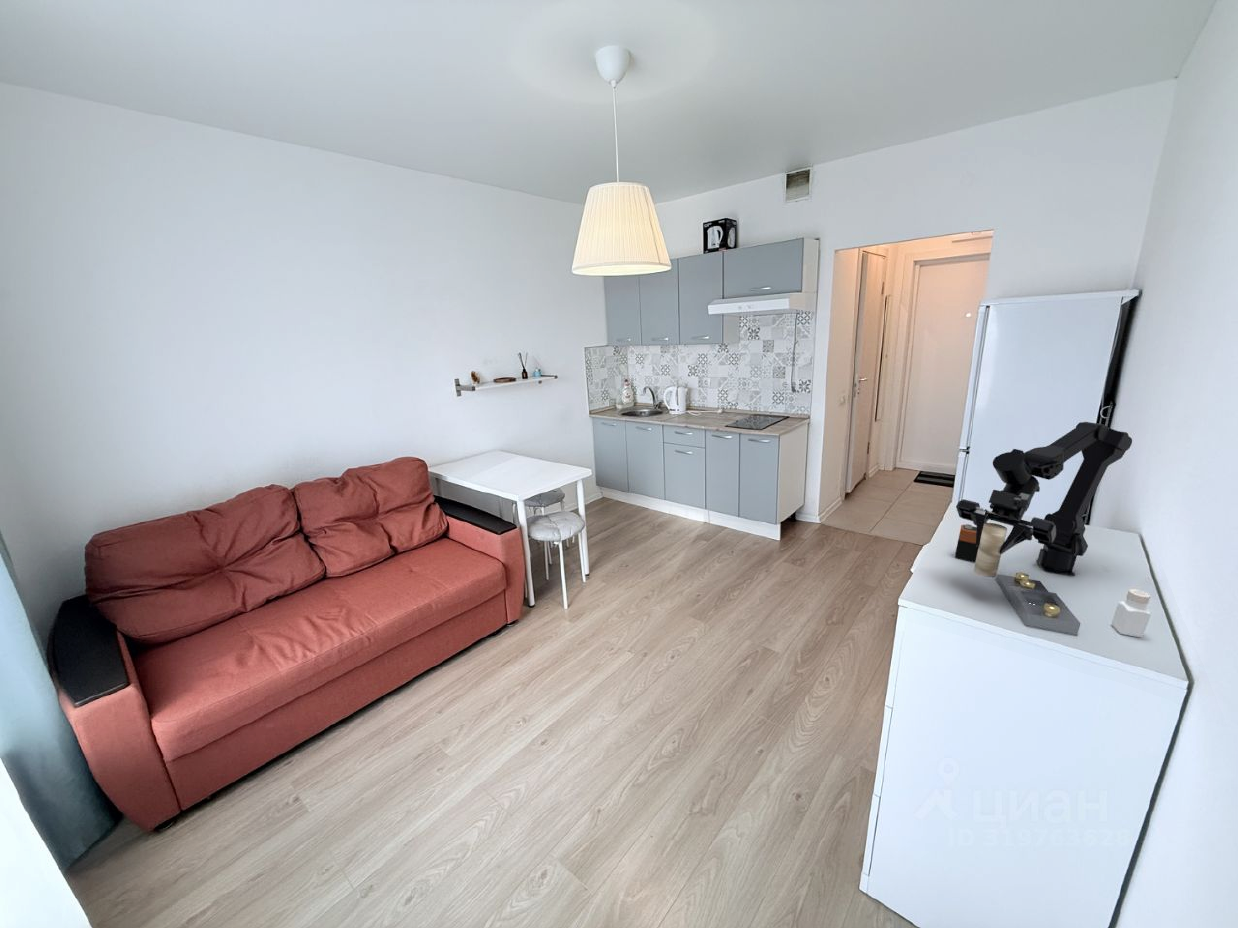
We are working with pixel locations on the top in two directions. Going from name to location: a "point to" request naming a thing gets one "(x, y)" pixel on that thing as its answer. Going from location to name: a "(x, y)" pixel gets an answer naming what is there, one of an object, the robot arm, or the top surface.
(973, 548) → the battery
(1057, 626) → the mounting plate
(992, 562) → the pin
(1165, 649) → the top surface
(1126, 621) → the salt shaker
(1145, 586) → the top surface
